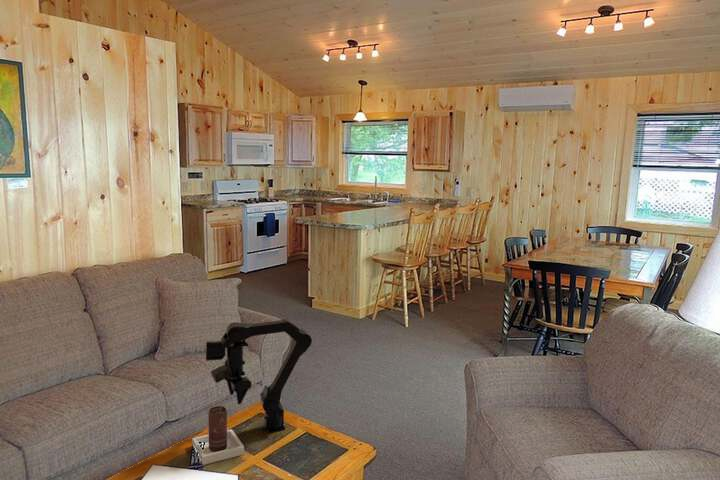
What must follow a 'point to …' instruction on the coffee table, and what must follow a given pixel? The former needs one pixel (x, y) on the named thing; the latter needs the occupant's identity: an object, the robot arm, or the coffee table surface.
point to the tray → (231, 450)
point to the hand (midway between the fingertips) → (235, 399)
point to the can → (217, 428)
